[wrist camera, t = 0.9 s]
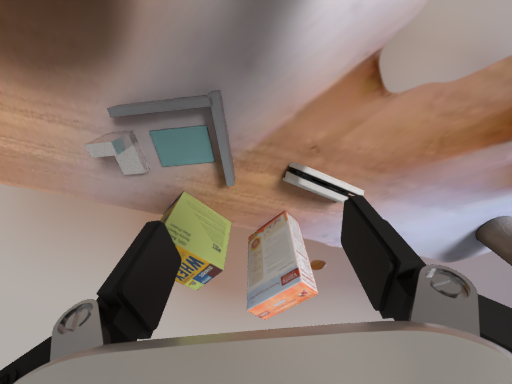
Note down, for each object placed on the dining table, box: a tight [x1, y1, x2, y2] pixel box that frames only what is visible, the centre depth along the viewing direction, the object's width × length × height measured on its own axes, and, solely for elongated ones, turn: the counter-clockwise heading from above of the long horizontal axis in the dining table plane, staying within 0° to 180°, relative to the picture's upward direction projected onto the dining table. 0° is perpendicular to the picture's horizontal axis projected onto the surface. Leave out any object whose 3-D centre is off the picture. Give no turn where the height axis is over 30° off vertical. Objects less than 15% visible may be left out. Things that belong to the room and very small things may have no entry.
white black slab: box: [283, 162, 364, 203], centre depth 45 cm, size 17×5×10 cm, turn 66°
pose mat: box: [149, 125, 215, 167], centre depth 44 cm, size 8×12×1 cm, turn 96°
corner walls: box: [107, 91, 235, 186], centre depth 42 cm, size 18×20×4 cm
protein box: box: [160, 191, 231, 290], centre depth 48 cm, size 10×15×16 cm
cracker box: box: [247, 211, 318, 320], centre depth 48 cm, size 14×6×21 cm, turn 134°
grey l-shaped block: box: [85, 130, 149, 175], centre depth 41 cm, size 9×5×8 cm, turn 6°
